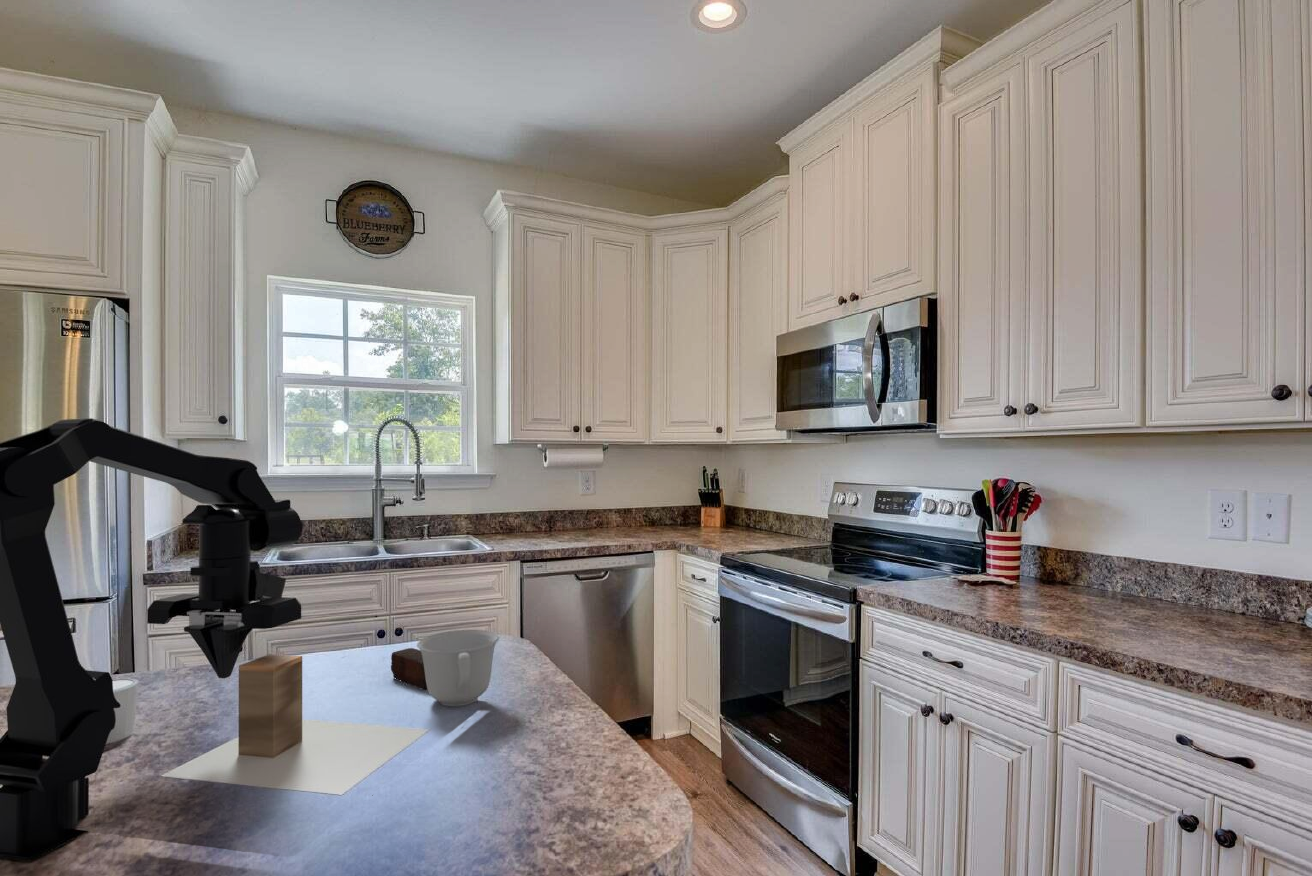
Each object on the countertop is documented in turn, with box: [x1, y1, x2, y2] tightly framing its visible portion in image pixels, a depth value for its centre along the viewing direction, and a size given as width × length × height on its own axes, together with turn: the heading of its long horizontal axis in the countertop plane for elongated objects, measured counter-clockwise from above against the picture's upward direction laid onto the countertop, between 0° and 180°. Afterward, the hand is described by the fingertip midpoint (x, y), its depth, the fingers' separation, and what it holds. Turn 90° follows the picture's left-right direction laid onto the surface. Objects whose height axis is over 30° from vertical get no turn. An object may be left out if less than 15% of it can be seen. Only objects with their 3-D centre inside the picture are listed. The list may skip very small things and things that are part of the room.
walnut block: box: [238, 653, 303, 758], centre depth 87 cm, size 5×5×11 cm
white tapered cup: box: [106, 678, 140, 745], centre depth 93 cm, size 7×7×7 cm
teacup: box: [416, 629, 500, 707], centre depth 102 cm, size 12×15×10 cm
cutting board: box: [160, 718, 431, 796], centre depth 85 cm, size 18×24×1 cm
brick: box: [390, 647, 428, 691], centre depth 115 cm, size 11×4×5 cm, turn 52°
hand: (224, 677), depth 88 cm, fingers closed
